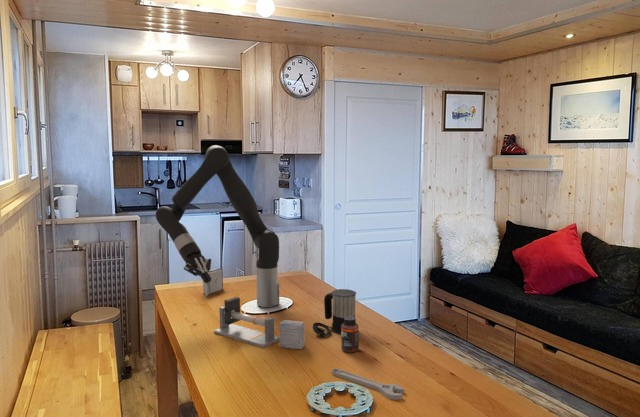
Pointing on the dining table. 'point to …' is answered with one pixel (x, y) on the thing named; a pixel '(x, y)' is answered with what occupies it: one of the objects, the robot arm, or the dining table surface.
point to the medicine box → (292, 334)
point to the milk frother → (337, 310)
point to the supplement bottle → (350, 335)
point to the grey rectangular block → (214, 282)
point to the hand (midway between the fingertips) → (208, 281)
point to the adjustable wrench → (372, 384)
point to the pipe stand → (246, 333)
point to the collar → (231, 309)
